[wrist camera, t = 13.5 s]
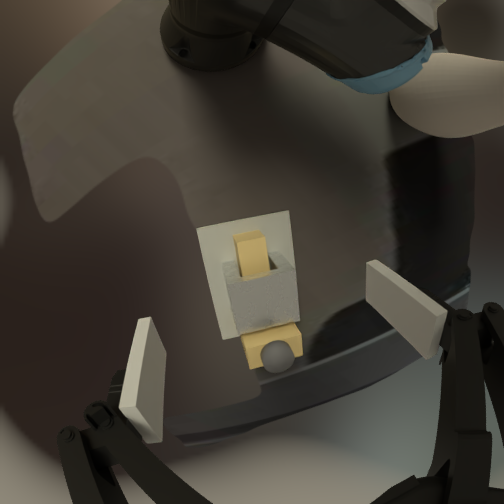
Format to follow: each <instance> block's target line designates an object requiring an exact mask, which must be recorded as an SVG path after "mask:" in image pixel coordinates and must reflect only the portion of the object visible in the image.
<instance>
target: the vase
mask: <svg viewBox="0 0 504 504" xmlns="http://www.w3.org/2000/svg"><path fill="white" fill-rule="evenodd" d="M422 66H423V69H422V70H421V71H420V72H419V73H418V74H417V75H416V76H415V77H413V78H412V79H411V80H409V81H408V82H407V83H405V84H403V85H402V86H400V87H398V88H396V89H393V90H391V91H389V97H390V102H391V105H392V107H393V109H394V111H395V112H396V114H397V115H398V116H399V117H400V118H401V119H402V120H403V121H404V122H405V123H407V124H408V125H410V126H412V127H413V128H415V129H417V130H419V131H421V132H424V133H427V134H430V135H433V136H437V137H445V138H458V137H465V136H470V135H473V134H477V133H481V132H484V131H487V130H490V129H493V128H495V127H499V126H503V125H504V61H495V60H488V59H483V58H477V57H472V56H466V55H459V54H453V53H434V54H431V56H430V58H429V60H428V62H426V63H423V64H422Z"/></svg>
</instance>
